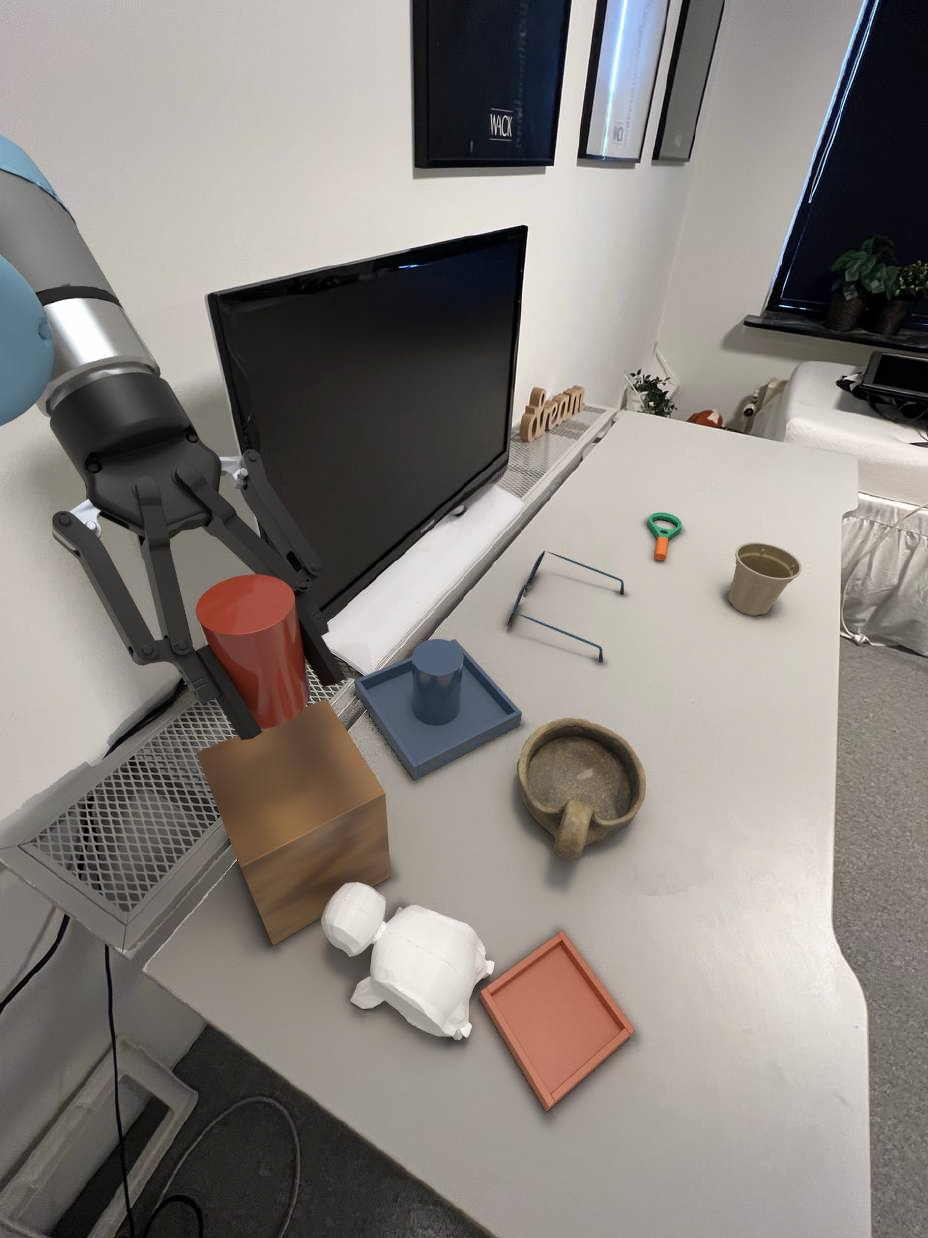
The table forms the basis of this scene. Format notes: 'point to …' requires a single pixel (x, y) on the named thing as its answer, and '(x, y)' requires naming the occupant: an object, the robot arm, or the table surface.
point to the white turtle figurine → (409, 958)
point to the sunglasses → (549, 625)
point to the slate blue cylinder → (436, 681)
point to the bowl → (580, 783)
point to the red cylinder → (258, 644)
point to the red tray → (555, 1018)
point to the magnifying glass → (663, 532)
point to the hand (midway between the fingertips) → (294, 707)
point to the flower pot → (761, 576)
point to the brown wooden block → (299, 815)
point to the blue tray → (435, 744)
